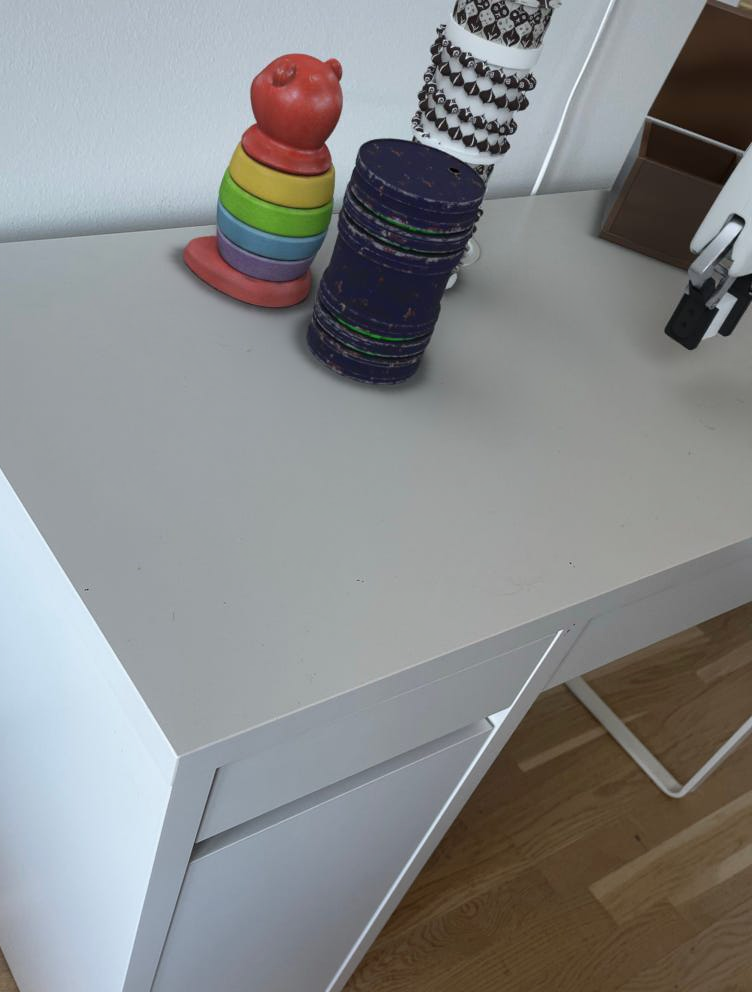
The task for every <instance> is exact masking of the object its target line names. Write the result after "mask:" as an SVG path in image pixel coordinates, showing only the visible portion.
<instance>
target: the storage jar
mask: <svg viewBox="0 0 752 992" xmlns="http://www.w3.org/2000/svg"><path fill="white" fill-rule="evenodd" d="M485 193H486V184H485V182H484V180H483V179H482V177H481V176H480V175H479V174H478V173H477V172H476V171H475V170H474V169H473V168H472V167H470V166H469V165H468V164H466V163H465V162H463V161H462V160H460V159H458V158H456V157H455V156H453V155H451V154H448V153H446V152H444V151H442V150H439V149H437V148H434V147H431V146H428V145H425V144H421V143H418V142H413V141H412V140H408V139H402V138H393V137H392V138H391V137H382V138H381V137H380V138H374V139H369V140H367V141H365V142H363V143H362V144H361V145H360V146H359V148H358V150H357V154H356V158H355V162H354V167H353V169H352V172H351V175H350V179H349V181H348V182H347V184H346V187H345V190H344V194H343V195H344V196H343V199H342V205H341V208H340V210H339V212H338V216H337V218H338V220H337V231H338V232H337V237H336V240H335V243H334V246H333V250H332V254H331V257H330V261H329V264H328V266H327V267H326V268H324V270H323V273H322V277H321V278H320V280H319V285H318V286H319V287H318V288H317V291H316V293H315V294H316V295H315V298H314V301H313V307H312V314H311V321H310V323H309V325H308V327H307V330H306V337H305V339H306V343H307V344H306V345H307V346H308V348H309V350H310V351H311V353H312V355H314V356H315V358H316V359H317V360H318V361H319V362H321V363H322V364H323V365H325V366H326V367H328V368H329V370H332V371H334V372H335V373H337V374H340V375H342V376H344V377H346V378H348V379H352V380H354V381H357V382H361V383H364V384H365V383H366V384H372V385H383V386H386V385H388V386H389V385H396V384H400V383H404V382H406V381H408V380H410V379H412V378H413V377H414V376H415V375H416V373H417V372H418V369H419V367H420V363H421V358H422V357H423V355H424V353H425V351H426V348H428V345H429V344H430V343H431V339H432V337H433V334H434V331H435V327H436V324H437V322H438V320H439V317H440V313H441V309H442V303H441V301H442V298H443V296H444V293H445V291H446V289H445V288H446V286H447V283H448V281H449V278H450V275H451V273H452V270H453V269H454V268H455V267H456V266H457V265H458V264H459V261H460V259H463V258H462V257H463V254H464V248H465V245H466V244H467V243H468V244H469V241H470V239H471V238H470V236H471V233H472V231H473V228H474V222H475V219H476V217H477V214H478V211H479V206H480V205H481V204H482V205H483V203H482V201H483V198H484V196H485ZM486 194H487V193H486ZM485 197H486V196H485ZM484 199H485V198H484ZM483 202H484V201H483ZM482 205H481V206H482ZM469 238H470V239H469Z"/></svg>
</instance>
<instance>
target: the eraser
mask: <svg viewBox="0 0 752 992" xmlns="http://www.w3.org/2000/svg"><path fill="white" fill-rule="evenodd" d="M736 301H737V298H735V297H734V296H732V295H731V294H729V293H728V292H726V293H725V295H724V296H723V298H722V299H721V300H720V302H719V303H718V304H717V306H716V307H717V308H718V309H720V310H719V311H718V313H717V315H716V316H715V318H714V320H713V321H712V323H711V325H710V326H709V328H708V330H707V331H706V333H705V335H704V336H703V338H702V340H701V341H703V340H707V339H710V338H712V337H716V336H717V334H718V333H717V332H718V330H719V329H720V327H721V325H722V324H723V322H724V321H725V319H726V317H727V316H728V314H729V312H730V311H731V309H732V307H733V306H734V304H735V302H736Z"/></svg>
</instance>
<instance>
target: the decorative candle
mask: <svg viewBox="0 0 752 992" xmlns="http://www.w3.org/2000/svg"><path fill="white" fill-rule="evenodd" d="M562 5H563V3H562V1H561V0H456V1H455V3H454V6H453V11H452V12H451V13H449V16H448V19H447V21H446V24H443V23H441V24H440V25H439V27H440V28H439V27H436V29H435V31H436V32H435V33H436V34H437V36H438V37H437V38H435V40H434V43H432V44H431V45H430V47H429V52H430V54H431V57H430V61H431V63H432V64H429V65H428V67H427V69H426V71H425V72H424V74H423V77H422V78H423V81H424V83H425V84H423V86H422V88H421V90H420V91H418V92H417V99H418V100H419V101H418V104H417V105H418V108H419V109H417V110H416V111H415V114H414V115H413V117H412V118H411V120H410V121H411V124H410V128H411V133H412V135H413V136H412V140H411V141H413V142H418V143H421V144H425V145H428V146H431V147H434V148H437V149H439V150H442V151H444V152H446V153H448V154H451V155H453V156H455V157H456V158H458V159H460V160H462V161H463V162H465V163H466V164H468V165H469V166H470V167H472V168H473V169H474V170H475V171H476V172H477V173H478V174H479V175H480V176H481V177H482V179H483V180H484V182H485V184H486V193H485V196H484V198H483V201H482V204H481V205H480V206H479V211H478V214H477V217H476V219H475V222H474V228H473V231H472V233H471V236H470V238H469V240H470V239H472V238H473V236H474V234H475V233H476V232H477V231H478V229H477V228H478V227H477V225H476V223H478V222H479V221H480V219H481V217H482V216H483V215H484V210H483V208H482V205H483V204H484V201H485V198H486V195H487V193H488V190H489V187H488V182H489V181H490V178H491V176H492V174H493V172H494V169H495V165H496V164H498V163H501V162H502V160H503V159H504V157H505V155H506V154H507V152H508V151H509V150H510V149H511V144H510V142H509V141H508V138H507V136H512V135H514V134H516V132H517V131H518V124H517V122H516V121H515V119H514V114H517V113H519V112H523V111H525V110H526V109H527V108H528V107H529V106H530V101H529V99H528V98H527V96H526V92H531V91H533V90H535V89H536V86H537V84H538V83H537V82H538V81H537V79H536V77H534V75H533V72H531V73H530V71H531V69H533V68H534V67H535V66H536V65H537V64H538V61H539V58H540V56H541V53H542V51H543V48H544V42H543V41H544V37H545V36H546V35H545V34H546V32H547V31H548V28H549V27H550V24H551V19H552V16H553V14H554V12H555V10H556V9H559V8H560V7H561V6H562ZM523 92H524V93H523ZM515 112H516V113H515ZM470 250H471V246H470V245H469V242H468V243H467V244H466V245H465V248H464V254H463V257H462V258H461V259H460V261H459V264H458V265H457V266H456V267H455V268H454V269H453V270H452V273H451V275H450V278H449V281H448V283H447V286H446V288H445V290H447V289H450V288H452V287H453V286H454V284H455V283H456V281H457V278H458V273H460V270H461V269H460V268H462V267H464V261H463V259H464V258H465V257H466V255H467V252H469V251H470Z"/></svg>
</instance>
